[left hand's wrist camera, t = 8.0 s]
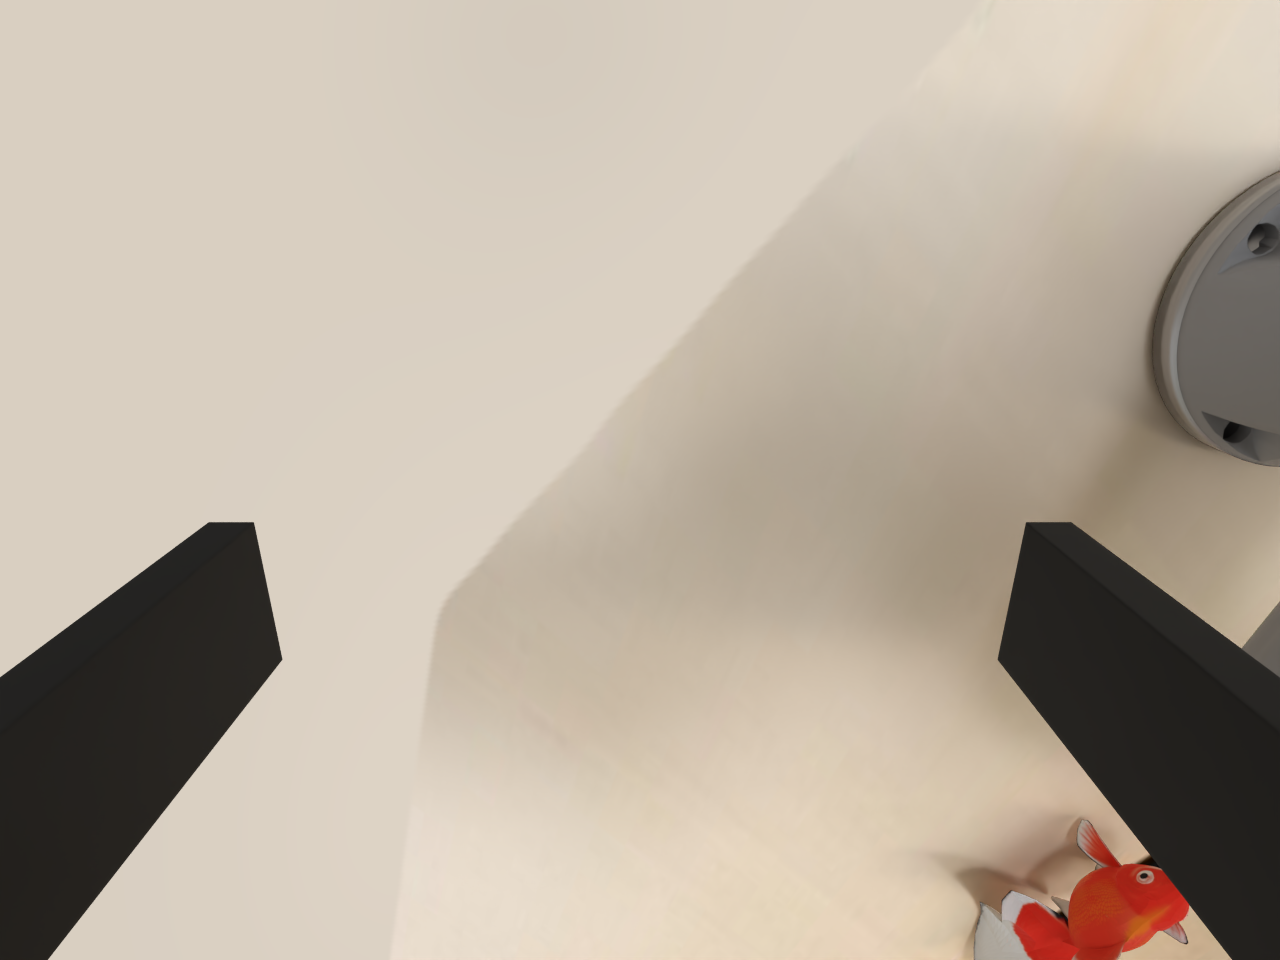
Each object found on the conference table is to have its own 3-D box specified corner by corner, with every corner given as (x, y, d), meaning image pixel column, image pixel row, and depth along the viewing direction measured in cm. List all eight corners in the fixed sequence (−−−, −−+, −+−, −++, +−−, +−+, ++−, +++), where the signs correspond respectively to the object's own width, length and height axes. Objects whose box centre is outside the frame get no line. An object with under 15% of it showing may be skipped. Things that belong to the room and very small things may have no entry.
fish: (1250, 942, 47) (1274, 1093, 39) (1010, 946, 56) (991, 1068, 49) (1162, 797, 47) (1169, 919, 39) (938, 826, 57) (907, 929, 49)
